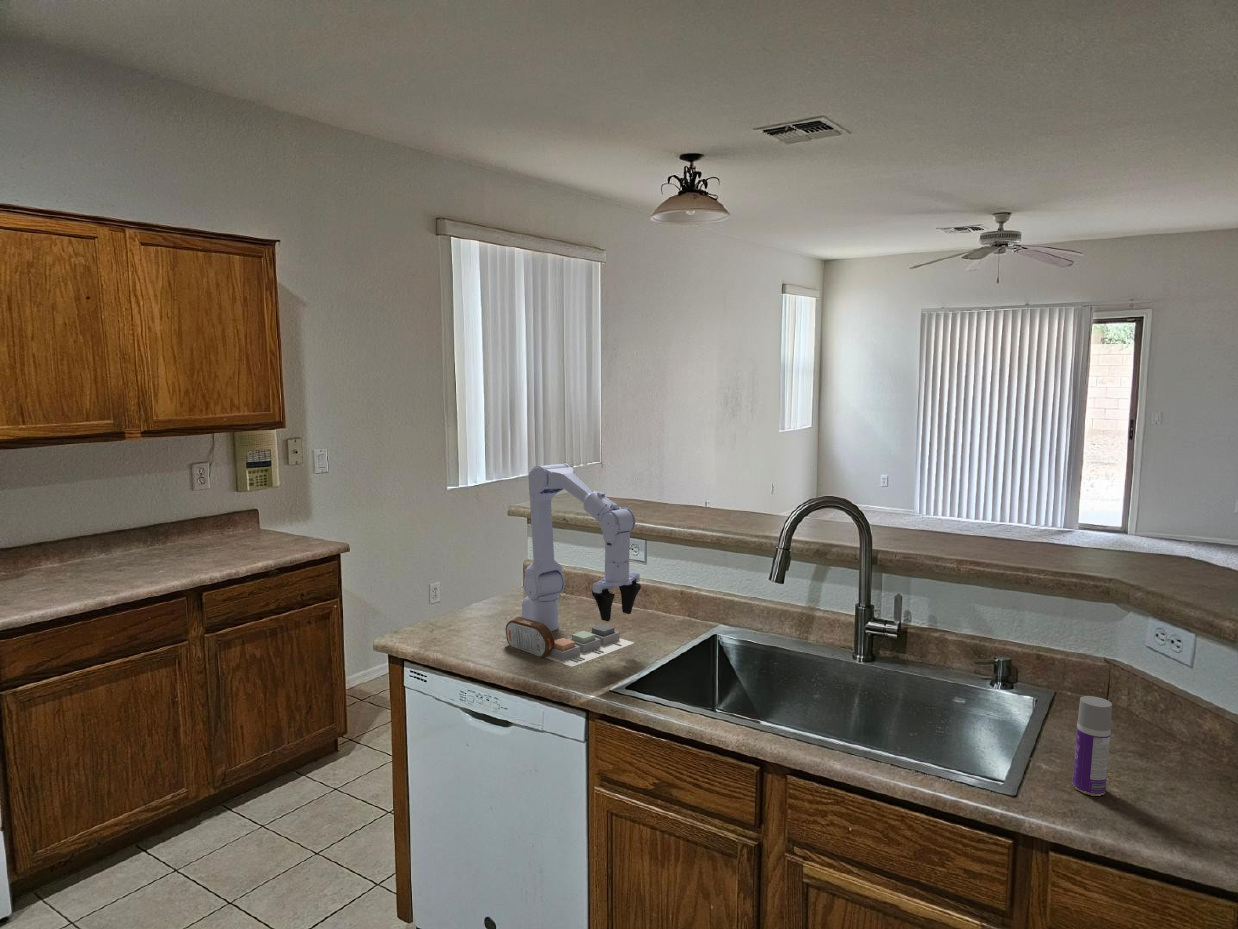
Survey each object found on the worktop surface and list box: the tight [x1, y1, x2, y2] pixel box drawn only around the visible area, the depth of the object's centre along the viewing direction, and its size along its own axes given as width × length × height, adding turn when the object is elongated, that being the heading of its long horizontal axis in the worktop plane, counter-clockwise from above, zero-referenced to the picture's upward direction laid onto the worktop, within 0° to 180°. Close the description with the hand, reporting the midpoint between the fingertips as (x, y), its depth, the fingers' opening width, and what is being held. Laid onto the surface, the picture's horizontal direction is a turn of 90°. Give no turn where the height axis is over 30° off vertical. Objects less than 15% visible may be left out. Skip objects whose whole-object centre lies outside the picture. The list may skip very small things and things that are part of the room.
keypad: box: [544, 630, 635, 668], centre depth 188 cm, size 12×22×3 cm, turn 139°
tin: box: [505, 616, 555, 659], centre depth 186 cm, size 15×3×8 cm, turn 48°
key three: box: [554, 637, 575, 651], centre depth 184 cm, size 4×4×2 cm
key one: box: [591, 623, 616, 637], centre depth 194 cm, size 4×4×2 cm
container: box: [1072, 695, 1113, 794], centre depth 127 cm, size 5×5×15 cm
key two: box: [571, 630, 595, 644], centre depth 189 cm, size 4×4×2 cm
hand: (616, 616), depth 184 cm, fingers open, 7 cm apart
